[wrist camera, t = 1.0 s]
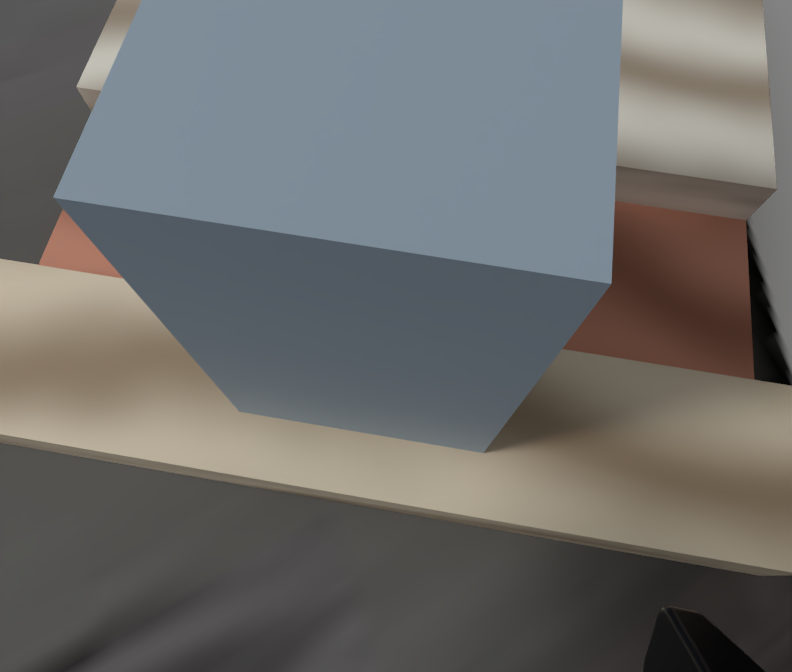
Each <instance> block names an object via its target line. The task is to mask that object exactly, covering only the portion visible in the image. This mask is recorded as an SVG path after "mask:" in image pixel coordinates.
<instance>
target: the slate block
mask: <svg viewBox="0 0 792 672" xmlns="http://www.w3.org/2000/svg"><path fill="white" fill-rule="evenodd" d="M622 12H623V0H141V3H140V5H139V7H138V9H137V12H136V14H135V16H134V18H133V21H132V23H131V25H130V27H129V29H128V32H127V34H126V36H125V38H124V41H123V43H122V45H121V47H120V50H119V52H118V54H117V56H116V59H115V61H114V63H113V65H112V67H111V70H110V72H109V74H108V76H107V79H106V81H105V83H104V85H103V88H102V90H101V92H100V94H99V97H98V99H97V101H96V103H95V105H94V108H93V110H92V112H91V114H90V117H89V119H88V121H87V123H86V126H85V128H84V130H83V132H82V135H81V137H80V139H79V141H78V143H77V146H76V148H75V150H74V152H73V155H72V157H71V159H70V161H69V164H68V166H67V168H66V170H65V172H64V175H63V177H62V179H61V181H60V184H59V186H58V188H57V190H56V193H55V195H54V197H53V198H54V199H55V200H56V201H57V202H58V204H59V205H60V206H61V207H62V208H63V209H64V211H65V212H66V213H67V214H68V215H69V216H70V217H71V219H72V220H73V221H74V222H75V223H76V224H77V225H78V227H79V228H80V229H81V230H82V231H83V232H84V234H85V235H86V236H87V237H88V238H89V239H90V240H91V242H92V243H93V244H94V245H95V246H96V247H97V249H98V250H99V251H100V252H101V253H102V254H103V255H104V257H105V258H106V259H107V260H108V261H109V262H110V263H111V265H112V266H113V267H114V268H115V269H116V270H117V272H118V273H119V274H120V275H121V276H122V277H123V278H124V280H125V281H126V282H127V283H128V284H129V285H130V287H131V288H132V289H133V290H134V291H135V292H136V293H137V295H138V296H139V297H140V298H141V299H142V300H143V301H144V303H145V304H146V305H147V306H148V307H149V308H150V310H151V311H152V312H153V313H154V314H155V315H156V316H157V318H158V319H159V320H160V321H161V322H162V323H163V325H164V326H165V327H166V328H167V329H168V330H169V331H170V333H171V334H172V335H173V336H174V337H175V338H176V339H177V341H178V342H179V343H180V344H181V345H182V346H183V348H184V349H185V350H186V351H187V352H188V353H189V354H190V356H191V357H192V358H193V359H194V360H195V361H196V363H197V364H198V365H199V366H200V367H201V368H202V369H203V371H204V372H205V373H206V374H207V375H208V376H209V377H210V379H211V380H212V381H213V382H214V383H215V384H216V386H217V387H218V388H219V389H220V390H221V391H222V392H223V394H224V395H225V396H226V397H227V398H228V399H229V400H230V402H231V403H232V404H233V405H234V406H235V407H236V409H237V410H238V411H239V412H243V413H249V414H255V415H261V416H267V417H273V418H279V419H285V420H291V421H297V422H302V423H308V424H314V425H320V426H326V427H332V428H338V429H344V430H350V431H356V432H361V433H367V434H373V435H379V436H385V437H391V438H397V439H403V440H409V441H414V442H420V443H426V444H432V445H438V446H444V447H450V448H456V449H462V450H468V451H473V452H479V453H484V451H485V450H486V449H487V447H488V446H489V445H490V443H491V442H492V441H493V440H494V438H495V437H496V436H497V434H498V433H499V432H500V430H501V429H502V428H503V426H504V425H505V424H506V422H507V421H508V420H509V418H510V417H511V416H512V414H513V413H514V412H515V411H516V409H517V408H518V407H519V405H520V404H521V403H522V401H523V400H524V399H525V397H526V396H527V395H528V393H529V392H530V391H531V389H532V388H533V387H534V385H535V384H536V383H537V381H538V380H539V379H540V378H541V376H542V375H543V374H544V372H545V371H546V370H547V368H548V367H549V366H550V364H551V363H552V362H553V360H554V359H555V358H556V356H557V355H558V354H559V352H560V351H561V350H562V349H563V347H564V346H565V345H566V343H567V342H568V341H569V339H570V338H571V337H572V335H573V334H574V333H575V331H576V330H577V329H578V327H579V326H580V325H581V323H582V322H583V321H584V319H585V318H586V317H587V316H588V314H589V313H590V312H591V310H592V309H593V308H594V306H595V305H596V304H597V302H598V301H599V300H600V298H601V297H602V296H603V294H604V293H605V292H606V290H607V289H608V288H609V287H610V285H611V283H612V259H613V234H614V209H615V185H616V160H617V135H618V111H619V86H620V61H621V37H622Z"/></svg>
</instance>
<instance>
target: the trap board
mask: <svg viewBox="0 0 792 672" xmlns="http://www.w3.org/2000/svg"><path fill="white" fill-rule="evenodd" d="M140 3H141V0H117V1H116V3H115V6H114V8H113V10H112V12H111V14H110V16H109V18H108V20H107V23H106V25H105V27H104V29H103V31H102V33H101V35H100V38H99V40H98V42H97V44H96V46H95V48H94V50H93V52H92V55H91V57H90V59H89V61H88V63H87V65H86V67H85V70H84V72H83V74H82V76H81V78H80V80H79V82H78V84H77V87H76V88H77V89H78V91H79V92H80V94H81V96H82V97H83V99H84V100H85V102H86V103H87V105H88V107H89V108H90V110H91V111H92V110H93V108H94V105H95V103H96V101H97V99H98V97H99V94H100V92H101V90H102V88H103V85H104V83H105V81H106V79H107V76H108V74H109V72H110V70H111V67H112V65H113V63H114V61H115V59H116V56H117V54H118V52H119V50H120V47H121V45H122V43H123V41H124V38H125V36H126V34H127V32H128V29H129V27H130V25H131V23H132V21H133V18H134V16H135V14H136V12H137V9H138V7H139V5H140ZM776 190H777V180H776V167H775V154H774V141H773V128H772V116H771V103H770V90H769V77H768V65H767V51H766V38H765V25H764V14H763V0H623V12H622V37H621V61H620V86H619V111H618V135H617V160H616V185H615V209H614V234H613V259H612V283H611V285H610V287H609V288H608V289H607V290H606V292H605V293H604V294H603V296H602V297H601V298H600V300H599V301H598V302H597V304H596V305H595V306H594V308H593V309H592V310H591V312H590V313H589V314H588V316H587V317H586V318H585V319H584V321H583V322H582V323H581V325H580V326H579V327H578V329H577V330H576V331H575V333H574V334H573V335H572V337H571V338H570V339H569V341H568V342H567V343H566V345H565V346H564V347H563V349H562V350H561V351H560V352H559V354H558V355H557V356H556V358H555V359H554V360H553V362H552V363H551V364H550V366H549V367H548V368H547V370H546V371H545V372H544V374H543V375H542V376H541V378H540V379H539V380H538V381H537V383H536V384H535V385H534V387H533V388H532V389H531V391H530V392H529V393H528V395H527V396H526V397H525V399H524V400H523V401H522V403H521V404H520V405H519V407H518V408H517V409H516V411H515V412H514V413H513V414H512V416H511V417H510V418H509V420H508V421H507V422H506V424H505V425H504V426H503V428H502V429H501V430H500V432H499V433H498V434H497V436H496V437H495V438H494V440H493V441H492V442H491V443H490V445H489V446H488V447H487V449H486V450H485V451H484V453H479V452H473V451H468V450H462V449H456V448H450V447H444V446H438V445H432V444H426V443H420V442H414V441H409V440H403V439H397V438H391V437H385V436H379V435H373V434H367V433H361V432H356V431H350V430H344V429H338V428H332V427H326V426H320V425H314V424H308V423H302V422H297V421H291V420H285V419H279V418H273V417H267V416H261V415H255V414H249V413H243V412H239V411H238V410H237V409H236V407H235V406H234V405H233V404H232V403H231V402H230V400H229V399H228V398H227V397H226V396H225V395H224V394H223V392H222V391H221V390H220V389H219V388H218V387H217V386H216V384H215V383H214V382H213V381H212V380H211V379H210V377H209V376H208V375H207V374H206V373H205V372H204V371H203V369H202V368H201V367H200V366H199V365H198V364H197V363H196V361H195V360H194V359H193V358H192V357H191V356H190V354H189V353H188V352H187V351H186V350H185V349H184V348H183V346H182V345H181V344H180V343H179V342H178V341H177V339H176V338H175V337H174V336H173V335H172V334H171V333H170V331H169V330H168V329H167V328H166V327H165V326H164V325H163V323H162V322H161V321H160V320H159V319H158V318H157V316H156V315H155V314H154V313H153V312H152V311H151V310H150V308H149V307H148V306H147V305H146V304H145V303H144V301H143V300H142V299H141V298H140V297H139V296H138V295H137V293H136V292H135V291H134V290H133V289H132V288H131V287H130V285H129V284H128V283H127V282H126V281H125V280H124V278H123V277H122V276H121V275H120V274H119V273H118V272H117V270H116V269H115V268H114V267H113V266H112V265H111V263H110V262H109V261H108V260H107V259H106V258H105V257H104V255H103V254H102V253H101V252H100V251H99V250H98V249H97V247H96V246H95V245H94V244H93V243H92V242H91V240H90V239H89V238H88V237H87V236H86V235H85V234H84V232H83V231H82V230H81V229H80V228H79V227H78V225H77V224H76V223H75V222H74V221H73V220H72V219H71V217H70V216H69V215H68V214H67V213H66V212H65V211H64V209H63V210H62V212H61V215H60V217H59V219H58V221H57V224H56V226H55V228H54V231H53V233H52V235H51V238H50V240H49V242H48V244H47V247H46V249H45V251H44V254H43V256H42V258H41V260H40V263H39V265H35V264H29V263H23V262H17V261H10V260H4V259H0V443H6V444H11V445H17V446H23V447H29V448H34V449H40V450H46V451H51V452H57V453H63V454H68V455H74V456H80V457H86V458H91V459H97V460H103V461H108V462H114V463H120V464H125V465H131V466H137V467H143V468H148V469H154V470H160V471H165V472H171V473H177V474H182V475H188V476H194V477H200V478H205V479H211V480H217V481H222V482H228V483H234V484H239V485H245V486H251V487H257V488H262V489H268V490H274V491H279V492H285V493H291V494H296V495H302V496H308V497H314V498H319V499H325V500H331V501H336V502H342V503H348V504H353V505H359V506H365V507H371V508H376V509H382V510H388V511H393V512H399V513H405V514H410V515H416V516H422V517H428V518H433V519H439V520H445V521H450V522H456V523H462V524H467V525H473V526H479V527H485V528H490V529H496V530H502V531H507V532H513V533H519V534H524V535H530V536H536V537H542V538H547V539H553V540H559V541H564V542H570V543H576V544H581V545H587V546H593V547H599V548H604V549H610V550H616V551H621V552H627V553H633V554H638V555H644V556H650V557H656V558H661V559H667V560H673V561H678V562H684V563H690V564H695V565H701V566H707V567H712V568H718V569H724V570H730V571H735V572H741V573H747V574H752V575H758V576H781V575H792V386H790V385H784V384H777V383H771V382H765V381H759V380H754V362H753V343H752V325H751V306H750V287H749V268H748V250H747V231H746V220H747V219H748V218H749V217H750V216H751V215H752V214H753V213H754V212H755V211H756V210H757V209H758V208H759V207H760V206H761V205H762V204H763V203H764V202H765V201H766V200H767V199H768V198H769V197H770V196H771V195H772V194H773V193H774V192H775V191H776Z"/></svg>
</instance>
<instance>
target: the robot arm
mask: <svg viewBox="0 0 792 672" xmlns="http://www.w3.org/2000/svg"><path fill="white" fill-rule="evenodd" d="M643 672H765V671H764V670H763V669H762V668H761V667H760V666H759V665H758V664H756V663H755V662H754V661H753V660H752V659H751V658H750V657H749V656H748V655H747V654H746V653H744V652H743V651H742V650H741V649H740V648H739V647H738V646H737V645H736V644H735V643H733V642H732V641H731V640H730V639H729V638H728V637H727V636H726V635H725V634H724V633H722V632H721V631H720V630H719V629H718V628H717V627H716V626H715V625H714V624H713V623H711V622H710V621H709V620H708V619H707V618H706V617H705V616H704V615H702V614H701V613H699V612H697V611H693V610H687V609H682V608H677V607H672V606H666V607H664V608H662V609H661V611H660V612H659V614H658V617H657V620H656V623H655V627H654V630H653V633H652V637H651V640H650V643H649V647H648V650H647V653H646V657H645V661H644V670H643Z"/></svg>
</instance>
